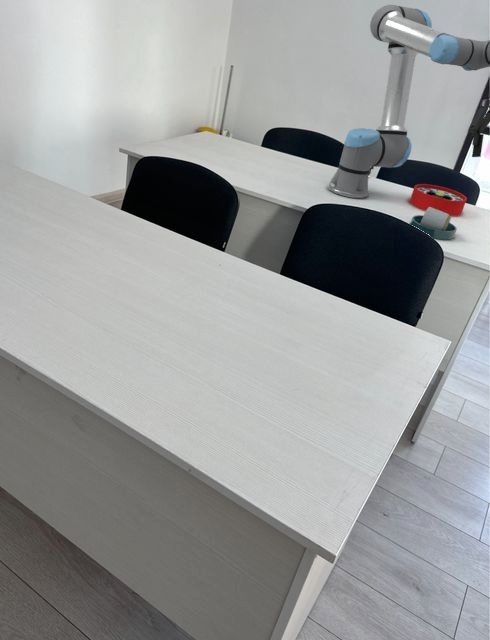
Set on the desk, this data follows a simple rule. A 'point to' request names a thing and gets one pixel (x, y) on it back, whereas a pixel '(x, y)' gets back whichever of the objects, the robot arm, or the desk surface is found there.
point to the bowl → (434, 233)
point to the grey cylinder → (435, 219)
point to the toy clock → (438, 199)
